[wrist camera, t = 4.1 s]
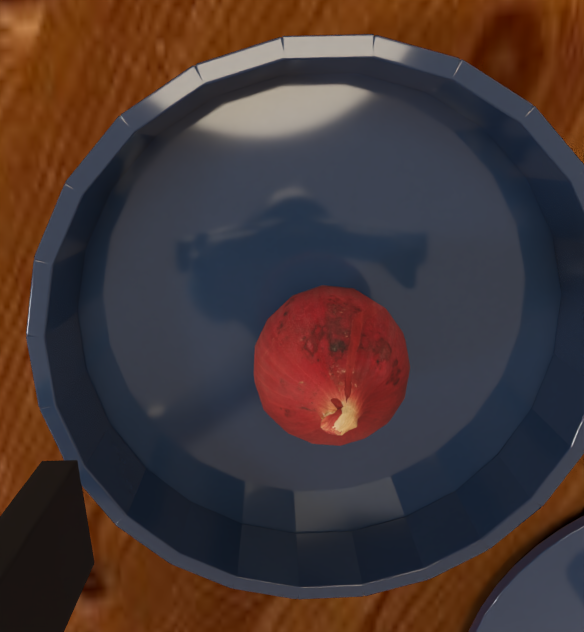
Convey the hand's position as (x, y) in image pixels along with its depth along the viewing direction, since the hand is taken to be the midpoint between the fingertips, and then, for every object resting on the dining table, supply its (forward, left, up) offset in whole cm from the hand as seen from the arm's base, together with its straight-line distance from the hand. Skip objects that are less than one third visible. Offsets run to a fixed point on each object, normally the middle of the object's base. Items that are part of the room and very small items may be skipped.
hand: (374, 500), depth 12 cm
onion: (0, 0, -12) cm, 12 cm away
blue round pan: (0, 0, -13) cm, 13 cm away
